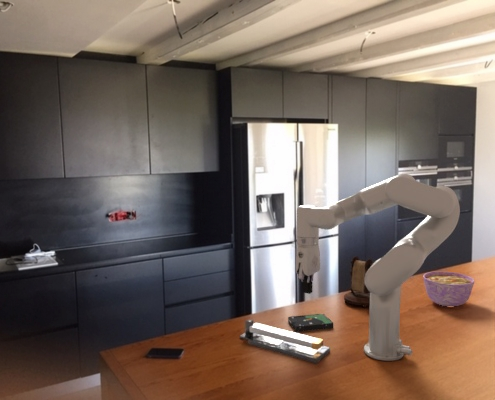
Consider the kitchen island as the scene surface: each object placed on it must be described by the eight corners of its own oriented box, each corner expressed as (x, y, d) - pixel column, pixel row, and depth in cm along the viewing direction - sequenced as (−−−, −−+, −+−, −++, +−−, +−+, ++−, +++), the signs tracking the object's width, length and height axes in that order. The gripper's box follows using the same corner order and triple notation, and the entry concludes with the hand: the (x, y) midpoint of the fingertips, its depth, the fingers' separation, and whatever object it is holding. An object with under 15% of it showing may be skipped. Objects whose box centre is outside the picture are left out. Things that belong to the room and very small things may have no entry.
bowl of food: (476, 301, 202) (477, 275, 201) (469, 316, 185) (471, 287, 184) (427, 293, 213) (428, 269, 211) (417, 307, 196) (418, 280, 195)
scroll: (337, 302, 203) (337, 257, 200) (356, 295, 213) (357, 251, 210) (366, 311, 192) (367, 263, 189) (385, 303, 202) (387, 257, 199)
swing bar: (323, 350, 154) (323, 336, 153) (317, 355, 150) (317, 341, 150) (249, 331, 170) (249, 318, 170) (242, 334, 167) (242, 321, 166)
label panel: (329, 351, 156) (329, 346, 155) (316, 363, 147) (316, 358, 147) (251, 330, 174) (251, 326, 173) (235, 340, 165) (235, 335, 165)
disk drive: (296, 334, 172) (334, 329, 175) (295, 326, 172) (334, 322, 175) (287, 323, 182) (323, 319, 185) (287, 316, 182) (323, 312, 185)
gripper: (307, 246, 153) (306, 300, 156) (326, 238, 166) (326, 288, 168) (287, 243, 158) (287, 296, 160) (308, 236, 170) (307, 285, 172)
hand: (307, 292), depth 164 cm, fingers closed
